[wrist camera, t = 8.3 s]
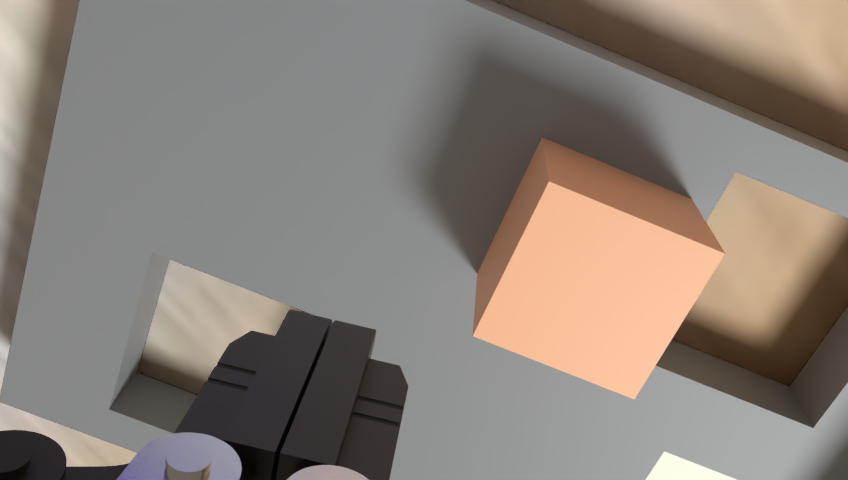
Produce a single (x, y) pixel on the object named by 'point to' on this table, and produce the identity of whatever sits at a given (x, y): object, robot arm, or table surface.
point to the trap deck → (392, 226)
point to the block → (592, 270)
